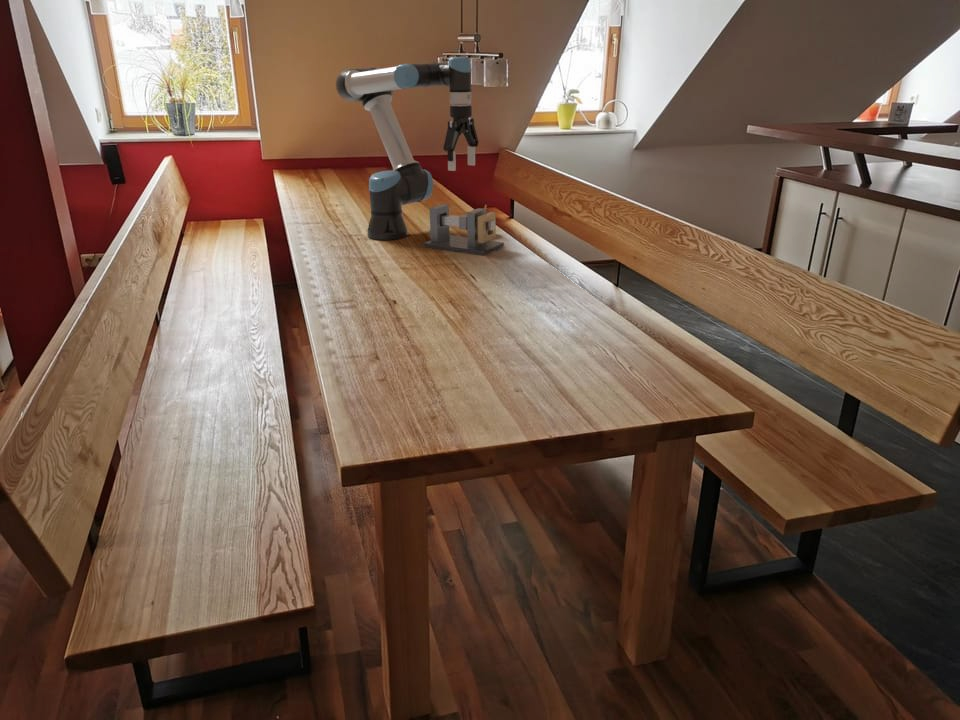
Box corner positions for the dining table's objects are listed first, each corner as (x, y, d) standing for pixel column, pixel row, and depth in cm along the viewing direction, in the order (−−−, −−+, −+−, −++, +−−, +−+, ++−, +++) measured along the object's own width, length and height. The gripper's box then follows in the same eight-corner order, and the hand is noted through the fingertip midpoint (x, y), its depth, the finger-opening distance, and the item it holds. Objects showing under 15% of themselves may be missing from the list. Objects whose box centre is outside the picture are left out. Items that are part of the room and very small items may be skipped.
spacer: (477, 242, 261) (477, 216, 257) (490, 237, 268) (490, 211, 264) (482, 243, 260) (482, 217, 256) (495, 237, 267) (495, 212, 263)
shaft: (431, 225, 271) (431, 213, 269) (438, 223, 274) (438, 211, 272) (489, 233, 259) (489, 220, 258) (496, 230, 263) (496, 217, 261)
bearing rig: (423, 246, 270) (422, 209, 264) (444, 238, 281) (443, 202, 276) (484, 255, 258) (484, 216, 253) (503, 246, 269) (503, 208, 264)
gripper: (451, 108, 248) (452, 173, 256) (487, 102, 268) (488, 163, 276) (432, 107, 251) (434, 172, 259) (469, 102, 271) (470, 162, 279)
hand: (461, 167), depth 268 cm, fingers open, 13 cm apart
